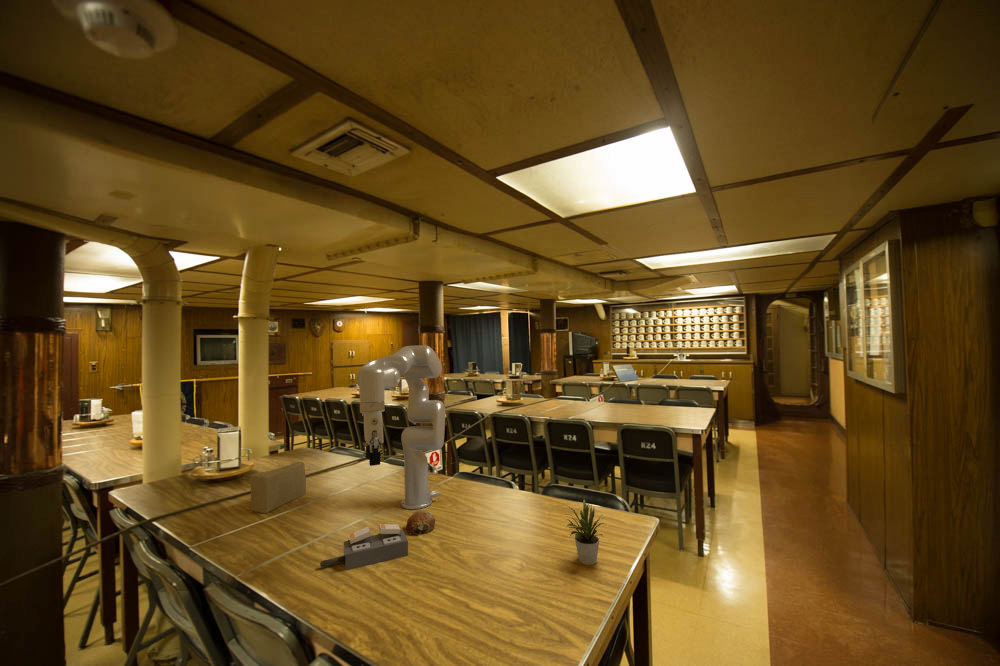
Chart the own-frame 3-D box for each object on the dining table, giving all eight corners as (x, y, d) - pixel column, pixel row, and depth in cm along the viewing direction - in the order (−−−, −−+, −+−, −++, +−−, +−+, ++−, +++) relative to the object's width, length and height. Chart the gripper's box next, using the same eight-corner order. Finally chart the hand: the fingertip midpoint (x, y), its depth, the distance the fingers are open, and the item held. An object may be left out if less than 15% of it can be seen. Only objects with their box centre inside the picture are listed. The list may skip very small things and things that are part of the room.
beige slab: (297, 492, 182) (297, 459, 183) (312, 495, 178) (312, 461, 179) (249, 511, 162) (249, 473, 163) (265, 514, 158) (265, 476, 159)
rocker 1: (369, 530, 127) (368, 526, 127) (370, 535, 123) (369, 531, 123) (349, 538, 125) (348, 534, 124) (350, 544, 121) (349, 539, 121)
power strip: (402, 542, 132) (402, 527, 132) (408, 555, 123) (407, 538, 124) (319, 561, 121) (319, 544, 121) (320, 576, 113) (319, 558, 113)
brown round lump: (438, 537, 143) (442, 512, 147) (424, 536, 134) (429, 510, 138) (413, 533, 146) (418, 509, 150) (399, 532, 138) (404, 507, 141)
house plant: (558, 546, 126) (557, 494, 127) (602, 545, 126) (600, 493, 127) (564, 571, 112) (562, 512, 113) (614, 571, 112) (612, 511, 112)
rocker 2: (397, 528, 131) (398, 524, 131) (399, 533, 127) (400, 528, 127) (378, 528, 128) (379, 523, 128) (380, 533, 125) (381, 528, 125)
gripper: (388, 409, 121) (389, 466, 121) (380, 403, 137) (381, 453, 136) (362, 411, 118) (363, 470, 117) (357, 404, 134) (358, 456, 133)
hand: (372, 461), depth 127 cm, fingers open, 9 cm apart
